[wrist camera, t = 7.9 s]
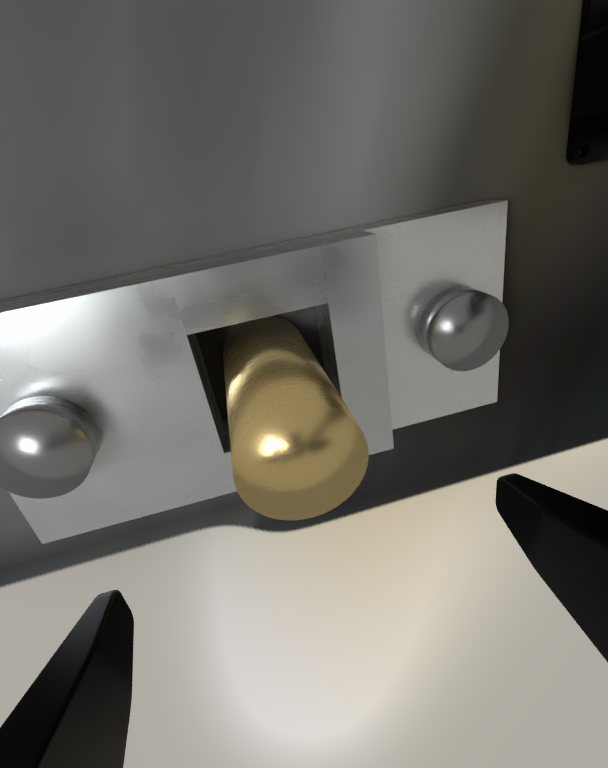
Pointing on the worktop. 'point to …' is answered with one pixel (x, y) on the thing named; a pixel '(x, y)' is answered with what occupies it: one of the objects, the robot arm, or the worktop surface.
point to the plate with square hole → (188, 370)
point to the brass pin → (287, 424)
